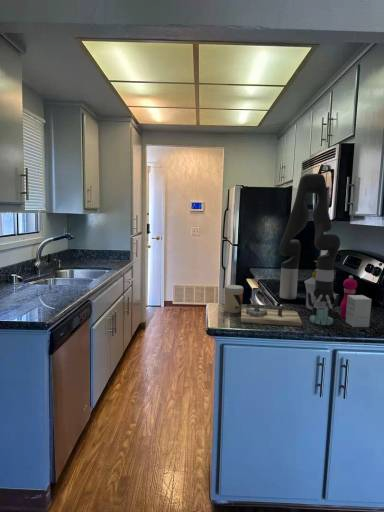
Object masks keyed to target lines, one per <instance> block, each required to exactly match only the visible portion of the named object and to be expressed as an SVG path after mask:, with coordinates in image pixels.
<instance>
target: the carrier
mask: <svg viewBox="0 0 384 512" xmlns="http://www.w3.org/2000/svg"><path fill="white" fill-rule="evenodd" d="M253 305H254V306H253V307H241V312H240V313H241V314H240V323H248V324H263V325H265V324H266V325H277V326H278V325H279V326H289V327H291V326H292V327H302V326H303V322H302V319H301V318H300V316H299V314H298V312H297V310H284V309H283V307H281V306H279V307H278V308H277V309H267V308H266V309H265V308H263V307H262V308H261V306H260V303H258V302H257V303H256V302H255V303H254V304H253Z"/></svg>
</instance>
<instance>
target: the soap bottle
mask: <svg viewBox="0 0 384 512" xmlns="http://www.w3.org/2000/svg"><path fill="white" fill-rule="evenodd" d="M313 262H315V263H317V260H313ZM316 267H317V264H316ZM316 271H317V268H316V269H314V271H313V272H312V275H311V277H310V278H309V279H305V280H304V285H305V290H306V294H307V293H308V292H309V293H311V292H314V290H315V278H316ZM315 298H316V297H315V296H314V295H313V297H311V300H312V303H314V300H315ZM305 306H306V308H307V309H308V310H311V311H312V306H309V304H308V297H307V296H306V300H305ZM326 306H327V302H324V301H322V302H320V301H319V303H318V304H317V306H316V307H325V308H327V307H326Z"/></svg>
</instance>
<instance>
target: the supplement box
mask: <svg viewBox="0 0 384 512" xmlns="http://www.w3.org/2000/svg"><path fill="white" fill-rule="evenodd" d="M371 310H372V298H369V297H367V296H366V295H363V294H356V295H355V294H354V295H348V297H347V309H346V318H345V323H346V324H348V325H349V326H351V327H352V328H369V327H370V320H371Z"/></svg>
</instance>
